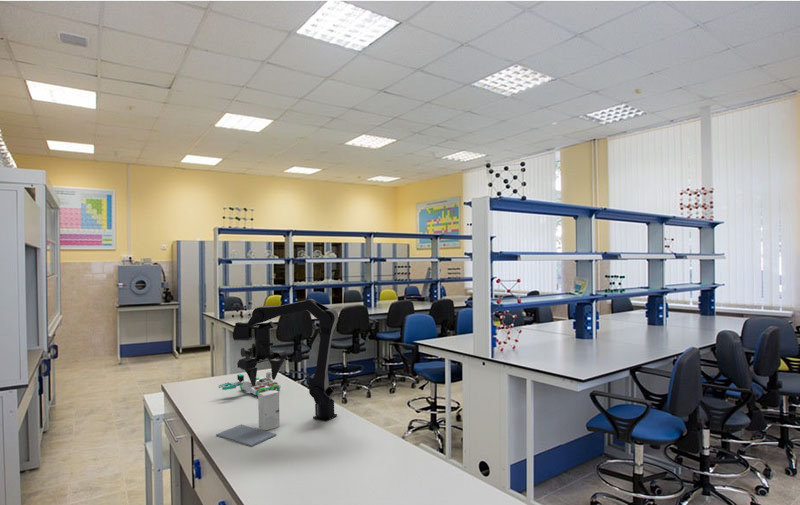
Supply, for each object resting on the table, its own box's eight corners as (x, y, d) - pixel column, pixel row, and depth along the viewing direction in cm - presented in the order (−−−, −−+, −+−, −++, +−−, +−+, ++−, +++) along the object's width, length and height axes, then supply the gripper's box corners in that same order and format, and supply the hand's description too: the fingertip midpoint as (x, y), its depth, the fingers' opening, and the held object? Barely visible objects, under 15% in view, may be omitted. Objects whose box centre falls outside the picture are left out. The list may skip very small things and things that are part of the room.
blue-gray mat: (276, 435, 147) (276, 433, 147) (251, 446, 139) (251, 445, 139) (241, 425, 157) (241, 424, 157) (216, 435, 149) (216, 434, 149)
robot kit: (213, 397, 193) (212, 375, 193) (266, 384, 210) (265, 364, 210) (231, 406, 180) (231, 383, 180) (286, 392, 197) (286, 371, 197)
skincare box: (264, 431, 151) (263, 395, 151) (258, 428, 154) (257, 393, 155) (280, 426, 155) (279, 391, 156) (274, 423, 159) (273, 389, 159)
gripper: (268, 334, 177) (268, 374, 177) (227, 343, 161) (228, 386, 161) (287, 336, 171) (288, 377, 171) (247, 345, 155) (248, 390, 155)
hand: (263, 382), depth 165 cm, fingers open, 9 cm apart
